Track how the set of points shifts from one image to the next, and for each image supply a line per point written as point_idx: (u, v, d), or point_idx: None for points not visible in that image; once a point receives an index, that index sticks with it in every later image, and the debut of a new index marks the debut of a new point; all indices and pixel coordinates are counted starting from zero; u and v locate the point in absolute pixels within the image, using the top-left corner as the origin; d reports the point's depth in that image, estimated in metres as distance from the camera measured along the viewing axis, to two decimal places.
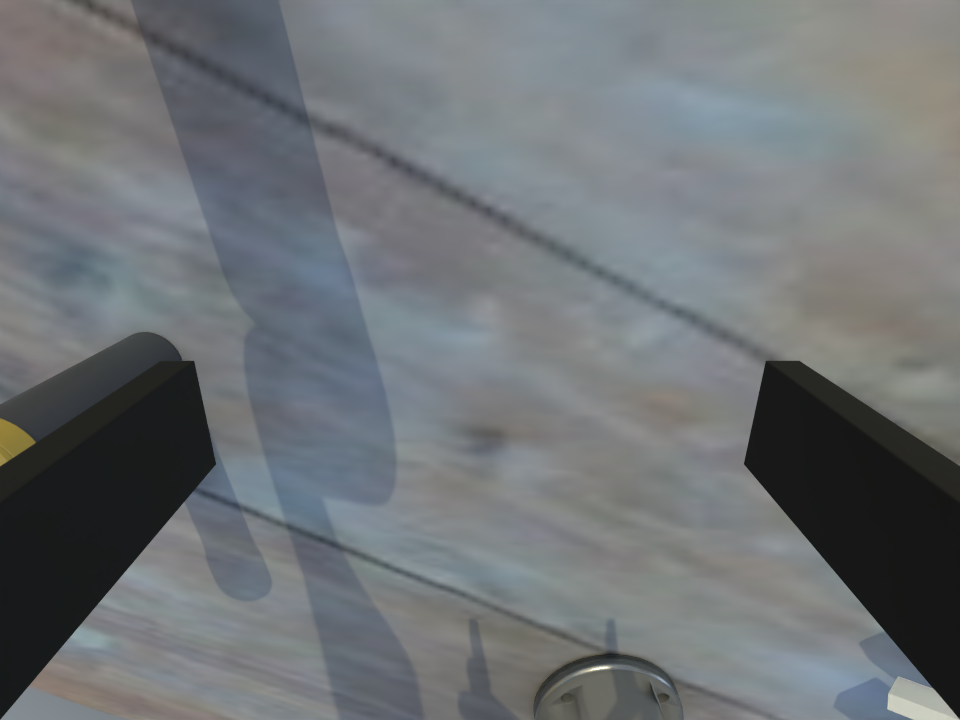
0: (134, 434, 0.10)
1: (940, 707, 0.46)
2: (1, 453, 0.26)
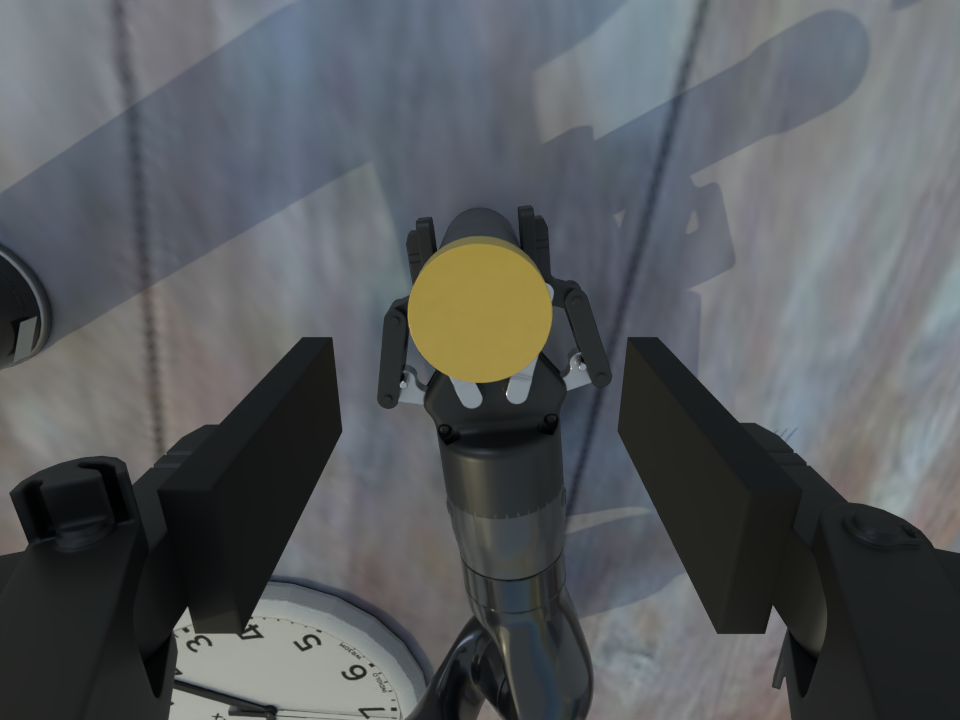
0: (305, 397, 0.11)
1: None
2: (422, 271, 0.19)
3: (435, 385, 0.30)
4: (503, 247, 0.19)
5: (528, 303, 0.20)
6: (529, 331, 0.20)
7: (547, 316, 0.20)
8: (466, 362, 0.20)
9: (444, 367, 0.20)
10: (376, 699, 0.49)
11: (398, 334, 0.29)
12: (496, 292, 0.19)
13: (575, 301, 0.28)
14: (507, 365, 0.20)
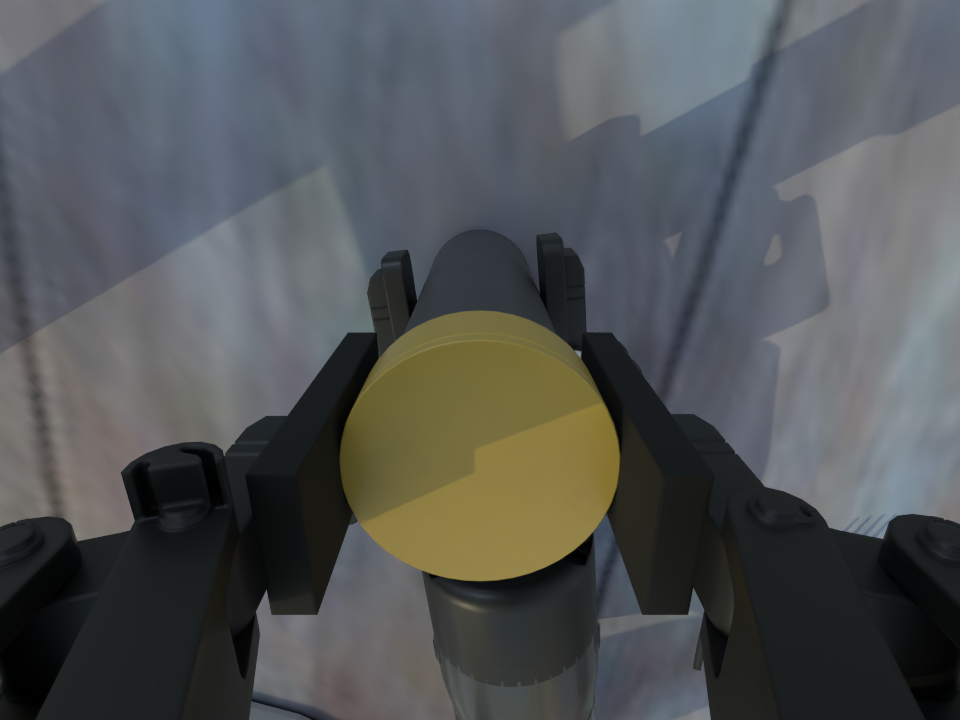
0: (359, 390, 0.12)
1: None
2: (364, 390, 0.10)
3: None
4: (527, 346, 0.09)
5: (574, 449, 0.10)
6: (574, 497, 0.10)
7: (610, 471, 0.10)
8: (454, 548, 0.11)
9: (413, 557, 0.11)
10: None
11: None
12: (512, 429, 0.10)
13: None
14: (531, 553, 0.11)
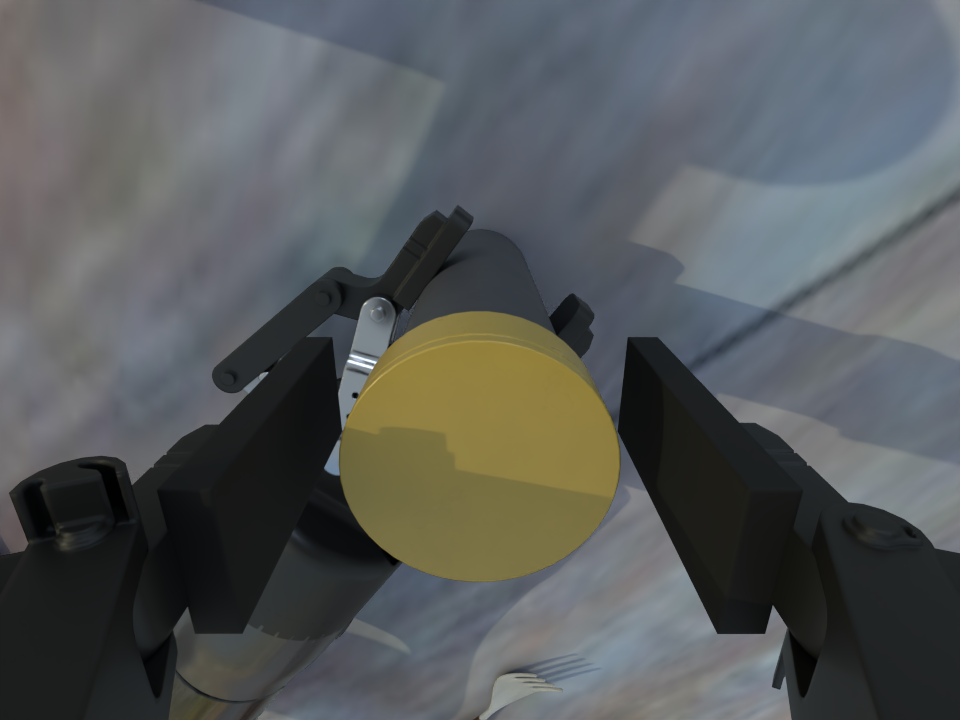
0: (305, 397, 0.11)
1: None
2: (357, 518, 0.11)
3: None
4: (374, 381, 0.10)
5: (498, 386, 0.09)
6: (553, 407, 0.10)
7: (542, 364, 0.09)
8: (549, 528, 0.11)
9: (538, 561, 0.11)
10: None
11: (313, 317, 0.18)
12: (449, 429, 0.10)
13: None
14: (595, 470, 0.10)
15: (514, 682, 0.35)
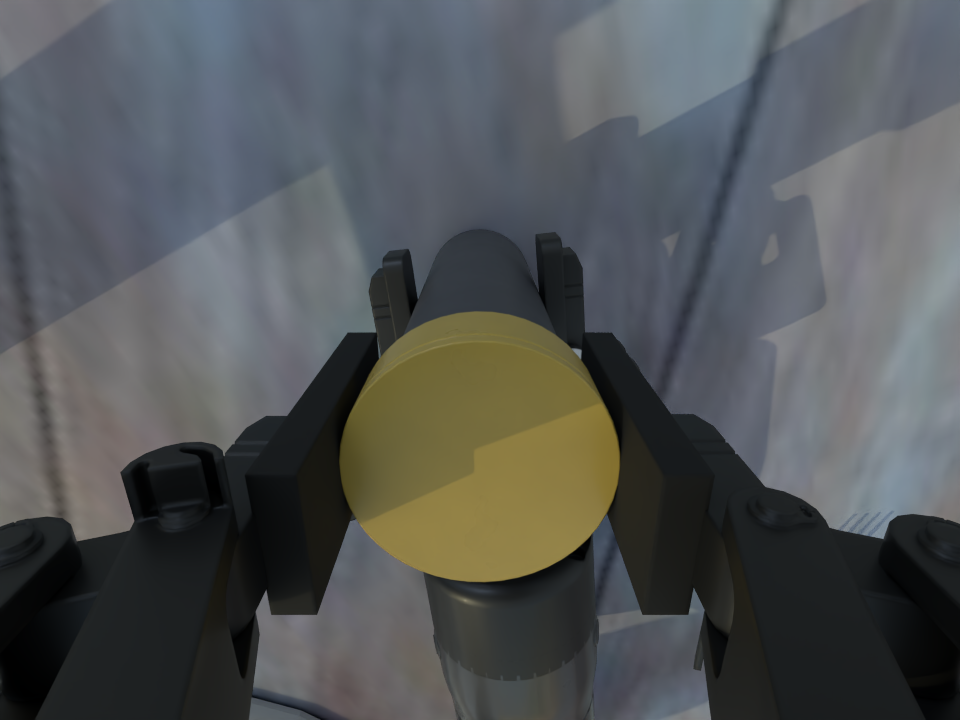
0: (358, 389, 0.12)
1: None
2: (431, 572, 0.11)
3: None
4: (341, 467, 0.10)
5: (424, 400, 0.10)
6: (480, 380, 0.09)
7: (437, 356, 0.09)
8: (578, 472, 0.10)
9: (598, 505, 0.10)
10: None
11: None
12: (423, 459, 0.10)
13: None
14: (566, 399, 0.10)
15: None
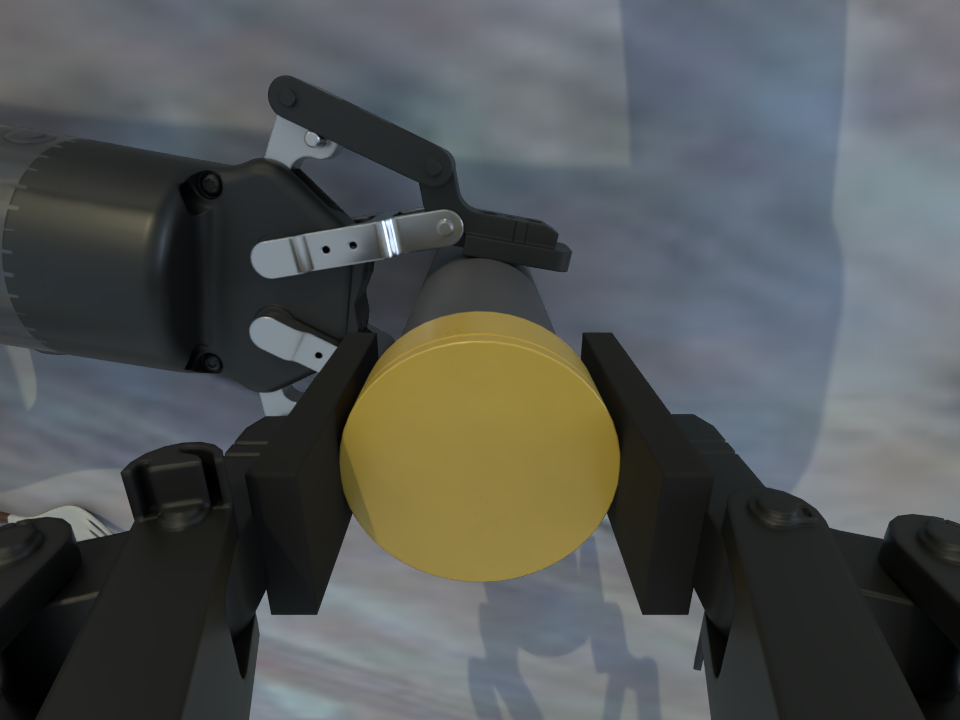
0: (359, 389, 0.12)
1: None
2: (431, 572, 0.11)
3: (301, 196, 0.17)
4: (341, 467, 0.10)
5: (424, 400, 0.10)
6: (480, 380, 0.09)
7: (437, 356, 0.09)
8: (578, 472, 0.10)
9: (598, 505, 0.10)
10: None
11: (408, 165, 0.17)
12: (423, 459, 0.10)
13: None
14: (566, 399, 0.10)
15: (82, 522, 0.31)
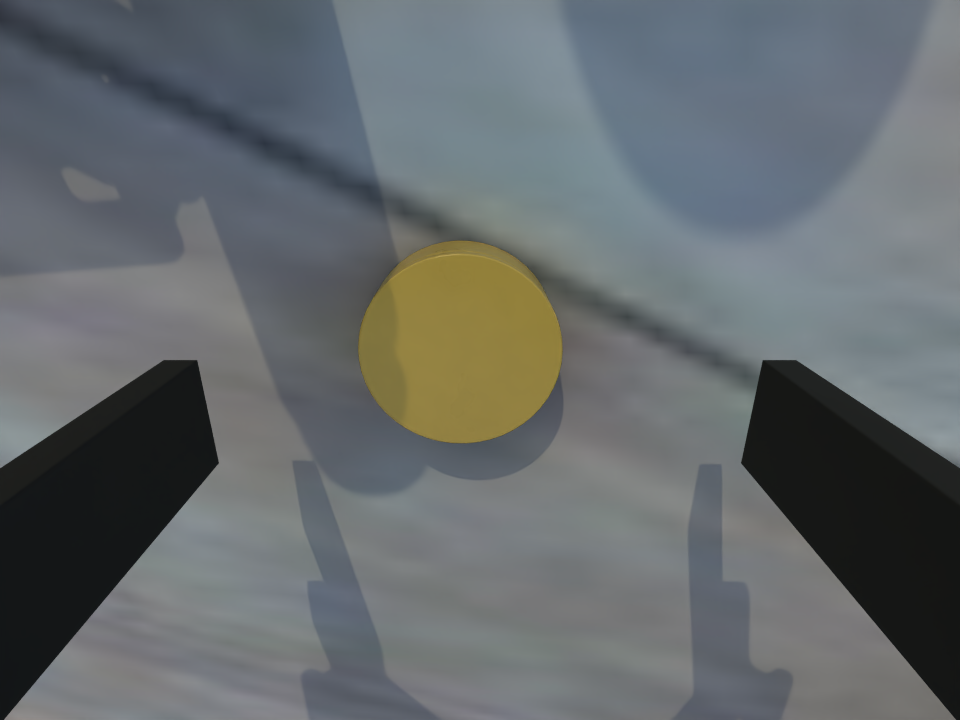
0: (139, 433, 0.10)
1: None
2: (426, 436, 0.15)
3: None
4: (359, 352, 0.14)
5: (419, 299, 0.13)
6: (459, 283, 0.13)
7: (429, 265, 0.13)
8: (532, 354, 0.14)
9: (547, 380, 0.14)
10: None
11: None
12: (420, 345, 0.14)
13: None
14: (521, 297, 0.13)
15: None
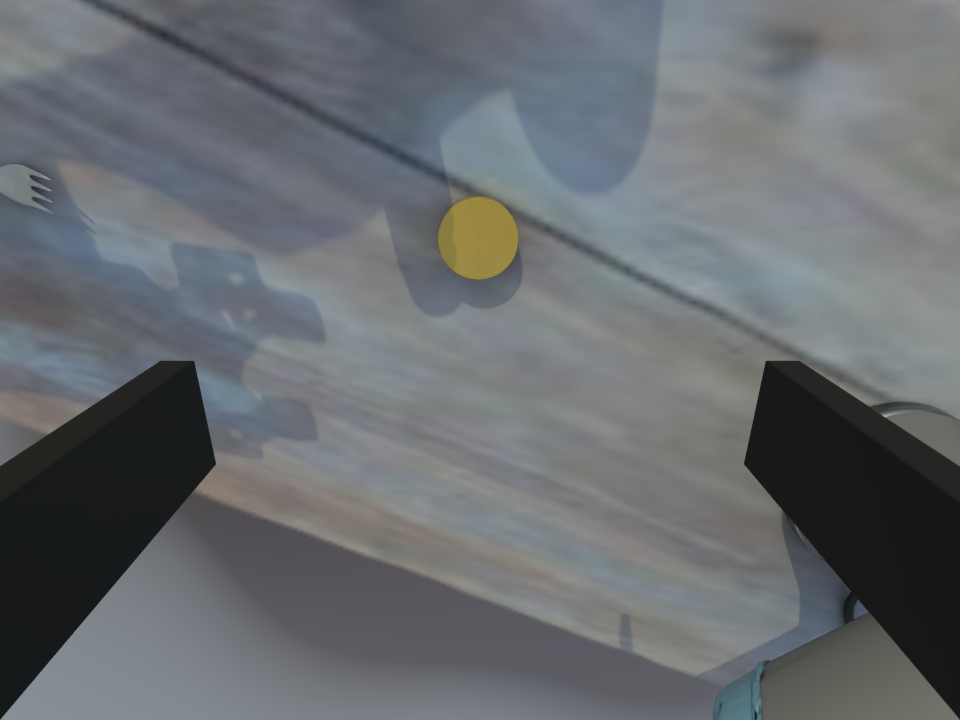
0: (135, 434, 0.10)
1: None
2: (463, 276, 0.36)
3: None
4: (438, 238, 0.35)
5: (462, 216, 0.35)
6: (478, 210, 0.35)
7: (466, 202, 0.35)
8: (506, 239, 0.35)
9: (512, 250, 0.36)
10: None
11: None
12: (462, 235, 0.35)
13: None
14: (501, 215, 0.35)
15: (24, 179, 0.35)
